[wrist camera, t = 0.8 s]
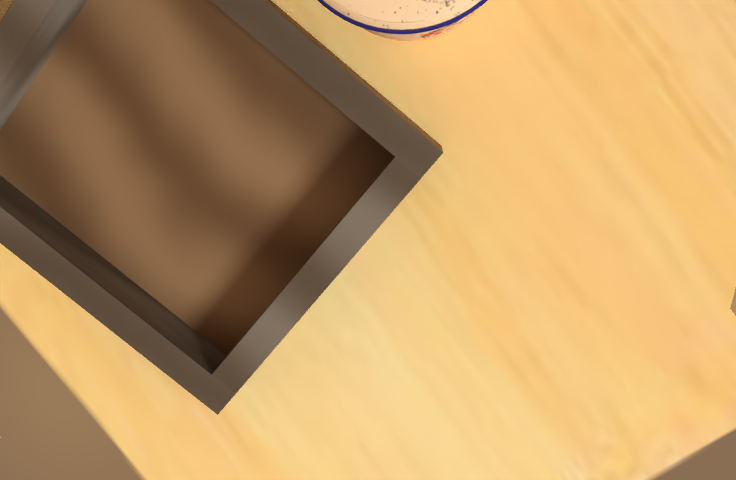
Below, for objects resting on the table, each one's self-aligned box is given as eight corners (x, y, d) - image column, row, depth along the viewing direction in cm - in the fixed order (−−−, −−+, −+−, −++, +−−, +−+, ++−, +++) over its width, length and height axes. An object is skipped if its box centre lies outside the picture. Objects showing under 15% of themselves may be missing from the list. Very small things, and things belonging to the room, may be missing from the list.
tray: (136, -115, 33) (102, -138, 29) (441, 146, 34) (443, 153, 31) (-46, 160, 37) (-94, 168, 33) (236, 385, 38) (217, 414, 35)
